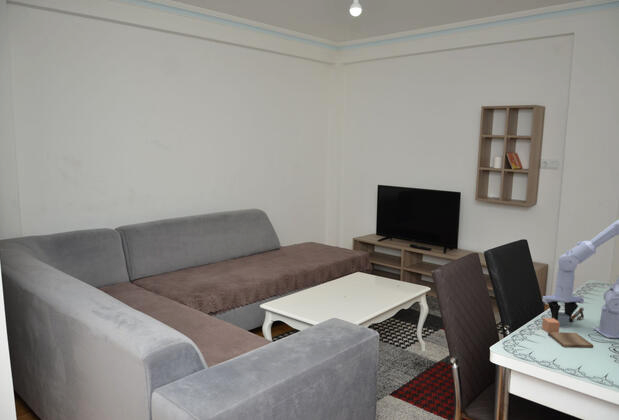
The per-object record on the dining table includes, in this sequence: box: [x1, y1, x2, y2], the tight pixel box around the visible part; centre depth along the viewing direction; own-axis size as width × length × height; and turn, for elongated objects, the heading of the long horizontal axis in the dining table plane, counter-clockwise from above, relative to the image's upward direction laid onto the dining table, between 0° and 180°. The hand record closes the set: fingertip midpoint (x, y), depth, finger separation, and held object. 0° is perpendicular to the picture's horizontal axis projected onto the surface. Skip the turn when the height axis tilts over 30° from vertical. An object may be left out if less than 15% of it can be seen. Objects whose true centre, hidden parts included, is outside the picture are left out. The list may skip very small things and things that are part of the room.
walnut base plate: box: [547, 331, 594, 349], centre depth 161 cm, size 10×10×1 cm
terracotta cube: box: [541, 317, 561, 334], centre depth 170 cm, size 4×4×4 cm
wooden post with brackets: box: [569, 307, 585, 323], centre depth 181 cm, size 2×8×5 cm, turn 118°
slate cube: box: [557, 311, 570, 328], centre depth 176 cm, size 4×4×4 cm
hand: (560, 320), depth 176 cm, fingers closed on slate cube, 4 cm apart
